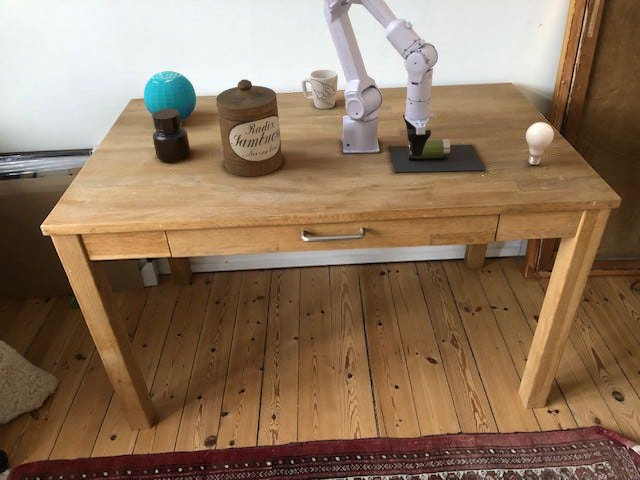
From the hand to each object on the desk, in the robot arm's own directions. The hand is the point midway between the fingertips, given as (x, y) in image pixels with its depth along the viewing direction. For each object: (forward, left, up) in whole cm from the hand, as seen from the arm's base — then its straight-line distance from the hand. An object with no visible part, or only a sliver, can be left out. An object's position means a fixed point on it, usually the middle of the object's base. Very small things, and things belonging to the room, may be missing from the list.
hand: (414, 148), depth 139 cm
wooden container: (-42, 0, -3) cm, 42 cm away
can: (+8, 0, 0) cm, 9 cm away
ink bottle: (-64, +5, -3) cm, 64 cm away
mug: (-25, +38, -3) cm, 45 cm away
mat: (+5, 0, -3) cm, 6 cm away
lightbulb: (+29, -4, -3) cm, 30 cm away
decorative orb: (-69, +28, -3) cm, 74 cm away
